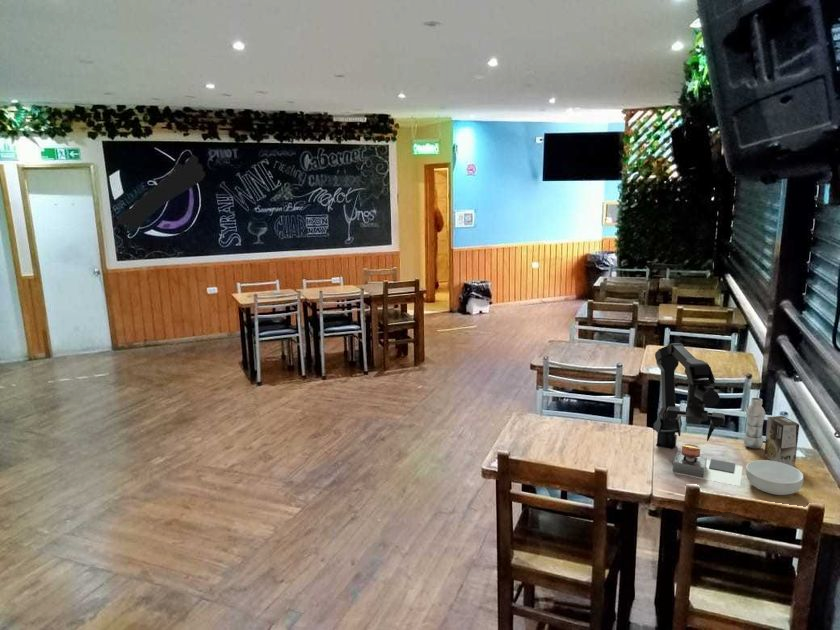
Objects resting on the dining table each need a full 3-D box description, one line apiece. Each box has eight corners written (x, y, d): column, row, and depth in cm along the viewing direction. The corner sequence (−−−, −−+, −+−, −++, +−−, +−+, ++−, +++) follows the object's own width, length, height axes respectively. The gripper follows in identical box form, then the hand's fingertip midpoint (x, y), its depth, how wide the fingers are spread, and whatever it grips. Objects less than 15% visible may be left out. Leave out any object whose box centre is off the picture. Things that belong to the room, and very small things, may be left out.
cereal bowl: (741, 475, 209) (743, 456, 207) (796, 482, 202) (798, 463, 201) (747, 497, 193) (749, 477, 192) (806, 506, 187) (809, 486, 185)
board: (673, 474, 210) (674, 472, 210) (680, 456, 225) (680, 454, 224) (740, 487, 200) (740, 486, 200) (742, 467, 214) (742, 466, 214)
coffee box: (796, 465, 214) (800, 424, 211) (779, 466, 214) (783, 425, 211) (779, 455, 223) (783, 415, 220) (763, 456, 223) (767, 416, 220)
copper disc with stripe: (679, 471, 212) (681, 448, 210) (681, 464, 217) (683, 442, 215) (697, 474, 208) (699, 451, 207) (699, 467, 214) (701, 445, 212)
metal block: (672, 472, 211) (673, 461, 210) (676, 461, 219) (677, 451, 218) (703, 478, 206) (704, 467, 205) (706, 466, 214) (706, 456, 213)
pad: (708, 468, 213) (709, 467, 213) (711, 460, 220) (711, 459, 219) (733, 473, 209) (733, 472, 209) (735, 464, 215) (735, 463, 215)
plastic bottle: (765, 450, 227) (770, 401, 223) (748, 450, 227) (752, 402, 224) (756, 443, 234) (761, 396, 230) (739, 444, 234) (743, 396, 230)
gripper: (665, 400, 205) (662, 441, 208) (724, 408, 196) (721, 451, 199) (669, 390, 214) (666, 430, 217) (726, 398, 205) (722, 439, 208)
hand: (693, 438), depth 210 cm, fingers open, 9 cm apart
